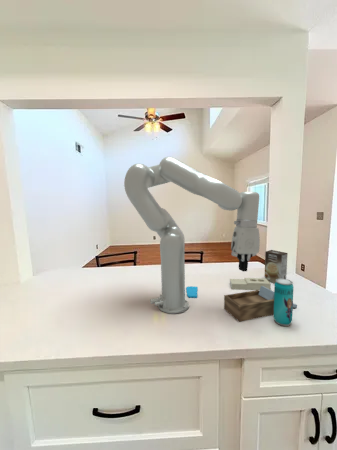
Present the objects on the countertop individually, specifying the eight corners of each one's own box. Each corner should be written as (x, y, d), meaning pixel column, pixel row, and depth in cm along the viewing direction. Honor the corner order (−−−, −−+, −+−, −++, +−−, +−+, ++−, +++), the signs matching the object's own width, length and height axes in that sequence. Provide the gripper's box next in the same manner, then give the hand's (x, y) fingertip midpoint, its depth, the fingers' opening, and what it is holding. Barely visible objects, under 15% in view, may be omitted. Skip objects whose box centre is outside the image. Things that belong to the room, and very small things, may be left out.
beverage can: (284, 328, 71) (285, 285, 70) (269, 320, 77) (270, 279, 75) (295, 324, 74) (297, 282, 72) (281, 316, 79) (282, 277, 78)
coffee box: (263, 280, 116) (264, 251, 115) (270, 277, 120) (271, 249, 118) (280, 285, 109) (281, 254, 107) (286, 282, 112) (288, 252, 111)
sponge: (183, 296, 96) (196, 295, 95) (186, 286, 108) (197, 285, 107) (184, 299, 96) (197, 298, 95) (186, 289, 108) (198, 288, 107)
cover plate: (271, 302, 81) (274, 292, 81) (258, 294, 88) (261, 285, 88) (296, 308, 85) (299, 298, 85) (282, 300, 92) (284, 291, 92)
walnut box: (239, 321, 76) (239, 306, 76) (224, 308, 86) (224, 295, 85) (275, 314, 81) (276, 300, 80) (257, 302, 90) (257, 290, 90)
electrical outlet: (229, 277, 112) (266, 278, 109) (229, 284, 112) (266, 285, 110) (231, 281, 105) (270, 283, 102) (231, 290, 105) (270, 291, 102)
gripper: (235, 225, 77) (231, 274, 79) (269, 225, 81) (265, 272, 83) (224, 222, 84) (221, 268, 86) (256, 223, 88) (252, 266, 90)
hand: (242, 270), depth 85 cm, fingers closed
